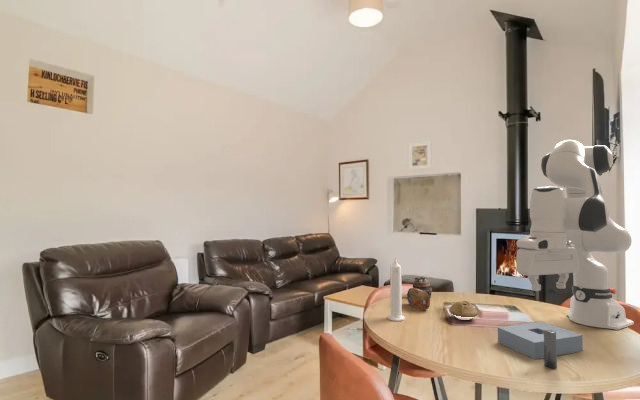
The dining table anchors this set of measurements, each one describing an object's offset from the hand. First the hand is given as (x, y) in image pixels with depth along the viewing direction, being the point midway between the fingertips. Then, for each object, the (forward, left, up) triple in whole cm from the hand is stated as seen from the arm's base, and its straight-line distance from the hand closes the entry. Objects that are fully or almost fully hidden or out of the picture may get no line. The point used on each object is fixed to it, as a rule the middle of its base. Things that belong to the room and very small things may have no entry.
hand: (548, 289), depth 99 cm
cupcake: (-11, -79, -22) cm, 82 cm away
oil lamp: (-7, -44, -22) cm, 50 cm away
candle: (+20, -52, -22) cm, 60 cm away
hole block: (-10, -12, -22) cm, 27 cm away
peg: (0, 0, -22) cm, 22 cm away
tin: (+2, -63, -22) cm, 67 cm away
